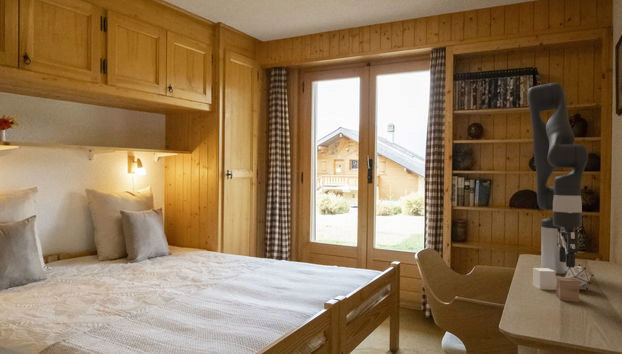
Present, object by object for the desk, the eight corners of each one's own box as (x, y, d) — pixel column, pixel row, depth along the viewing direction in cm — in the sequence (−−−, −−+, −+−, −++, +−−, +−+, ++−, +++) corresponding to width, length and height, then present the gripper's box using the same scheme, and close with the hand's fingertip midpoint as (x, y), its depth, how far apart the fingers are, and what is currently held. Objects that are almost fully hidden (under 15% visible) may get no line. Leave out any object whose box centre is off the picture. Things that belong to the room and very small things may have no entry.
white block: (532, 285, 146) (532, 267, 146) (548, 286, 146) (548, 268, 146) (539, 289, 141) (539, 271, 141) (555, 289, 141) (555, 271, 141)
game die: (584, 302, 140) (602, 281, 134) (557, 291, 142) (574, 270, 136) (580, 283, 147) (597, 263, 142) (555, 273, 149) (570, 252, 143)
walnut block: (556, 296, 133) (556, 276, 133) (574, 297, 132) (574, 277, 132) (559, 300, 129) (560, 280, 129) (579, 301, 127) (579, 281, 127)
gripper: (548, 208, 138) (548, 259, 138) (558, 211, 125) (558, 267, 125) (575, 209, 136) (574, 261, 136) (588, 212, 122) (588, 269, 122)
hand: (566, 264), depth 130 cm, fingers open, 8 cm apart
